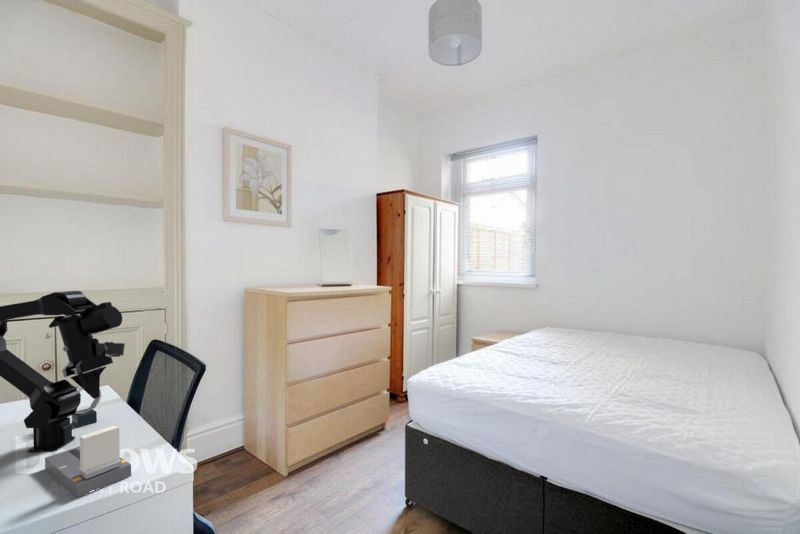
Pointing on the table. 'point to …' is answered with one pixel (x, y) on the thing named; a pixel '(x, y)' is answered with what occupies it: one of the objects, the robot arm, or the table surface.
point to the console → (68, 475)
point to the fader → (99, 452)
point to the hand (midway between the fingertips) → (96, 397)
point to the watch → (86, 413)
